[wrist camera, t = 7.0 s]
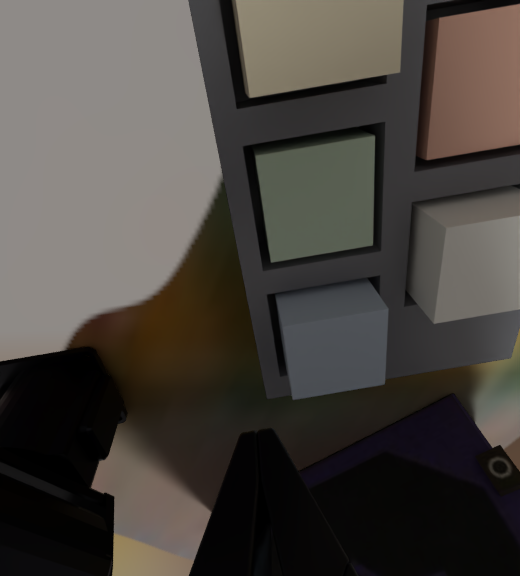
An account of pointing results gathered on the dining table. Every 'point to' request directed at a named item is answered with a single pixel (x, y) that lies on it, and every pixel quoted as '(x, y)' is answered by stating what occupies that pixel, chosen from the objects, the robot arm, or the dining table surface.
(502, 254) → the light grey key
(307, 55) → the key sand
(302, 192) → the key sage
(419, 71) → the keypad console
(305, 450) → the dining table surface
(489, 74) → the key terracotta
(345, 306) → the key slate
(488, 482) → the book
